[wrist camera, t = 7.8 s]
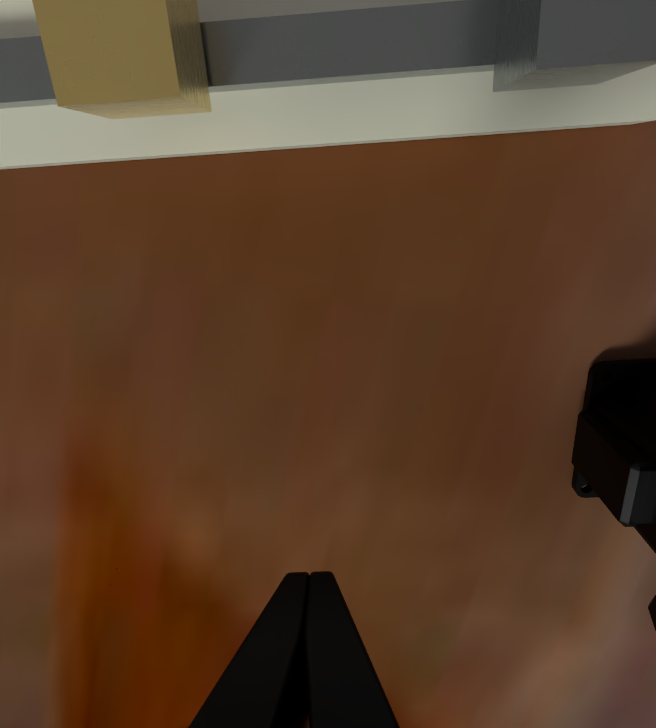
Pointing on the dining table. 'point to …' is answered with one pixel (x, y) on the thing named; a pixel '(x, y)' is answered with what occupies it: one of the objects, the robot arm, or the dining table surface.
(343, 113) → the plate
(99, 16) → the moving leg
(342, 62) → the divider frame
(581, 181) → the dining table surface
